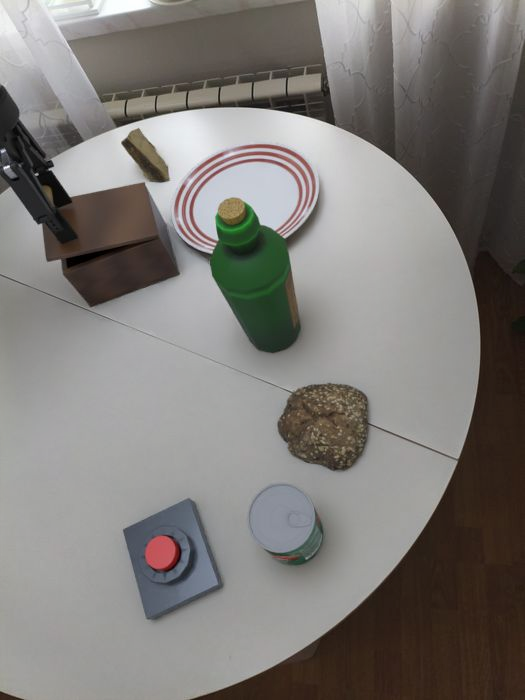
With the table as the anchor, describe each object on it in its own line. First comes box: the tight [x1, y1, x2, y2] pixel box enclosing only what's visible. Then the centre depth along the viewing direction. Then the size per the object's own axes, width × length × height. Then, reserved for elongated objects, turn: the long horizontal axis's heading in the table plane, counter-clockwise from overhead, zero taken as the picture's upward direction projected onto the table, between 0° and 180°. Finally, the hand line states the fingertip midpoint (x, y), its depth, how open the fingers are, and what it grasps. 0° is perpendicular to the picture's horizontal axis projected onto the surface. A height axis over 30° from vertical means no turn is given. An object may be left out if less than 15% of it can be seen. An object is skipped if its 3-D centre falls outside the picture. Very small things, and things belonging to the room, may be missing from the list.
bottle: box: [208, 197, 301, 353], centre depth 76 cm, size 11×11×28 cm
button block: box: [122, 497, 224, 621], centre depth 72 cm, size 12×10×4 cm
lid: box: [41, 182, 159, 263], centre depth 88 cm, size 18×13×7 cm
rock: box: [120, 127, 171, 183], centre depth 110 cm, size 11×9×10 cm
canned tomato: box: [246, 482, 325, 567], centre depth 68 cm, size 8×8×11 cm
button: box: [145, 536, 180, 571], centre depth 70 cm, size 4×4×2 cm
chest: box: [60, 186, 180, 308], centre depth 97 cm, size 17×13×10 cm
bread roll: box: [276, 382, 369, 471], centre depth 77 cm, size 13×12×5 cm
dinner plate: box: [170, 141, 320, 255], centre depth 101 cm, size 27×27×3 cm
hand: (66, 221), depth 89 cm, fingers open, 8 cm apart
